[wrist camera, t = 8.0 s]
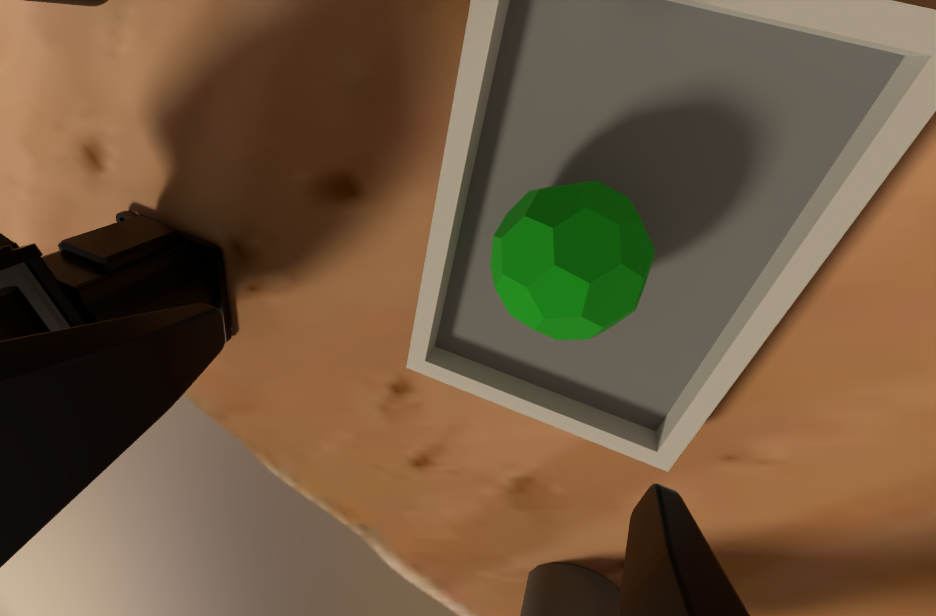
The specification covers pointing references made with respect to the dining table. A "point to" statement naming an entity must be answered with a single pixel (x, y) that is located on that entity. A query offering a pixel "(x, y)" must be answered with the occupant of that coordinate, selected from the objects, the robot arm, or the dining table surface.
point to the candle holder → (569, 592)
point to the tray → (663, 188)
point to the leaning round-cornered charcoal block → (75, 2)
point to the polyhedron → (571, 260)
